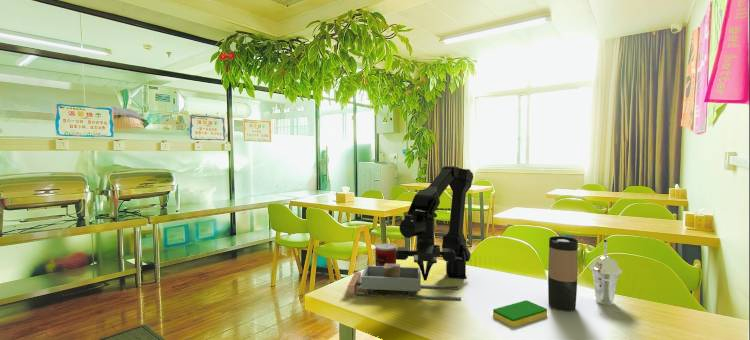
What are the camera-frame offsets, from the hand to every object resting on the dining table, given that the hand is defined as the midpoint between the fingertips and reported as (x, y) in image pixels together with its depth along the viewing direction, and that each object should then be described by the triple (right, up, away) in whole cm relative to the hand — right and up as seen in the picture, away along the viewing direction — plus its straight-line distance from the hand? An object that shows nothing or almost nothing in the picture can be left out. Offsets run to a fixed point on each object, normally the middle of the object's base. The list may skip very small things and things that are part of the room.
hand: (425, 280), depth 117 cm
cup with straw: (+53, -5, -7) cm, 54 cm away
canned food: (-12, -4, +17) cm, 21 cm away
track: (-6, -4, +1) cm, 7 cm away
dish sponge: (+24, -6, -17) cm, 30 cm away
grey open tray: (-11, -4, +2) cm, 12 cm away
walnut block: (-11, -1, +1) cm, 11 cm away
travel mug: (+39, -5, -10) cm, 41 cm away
